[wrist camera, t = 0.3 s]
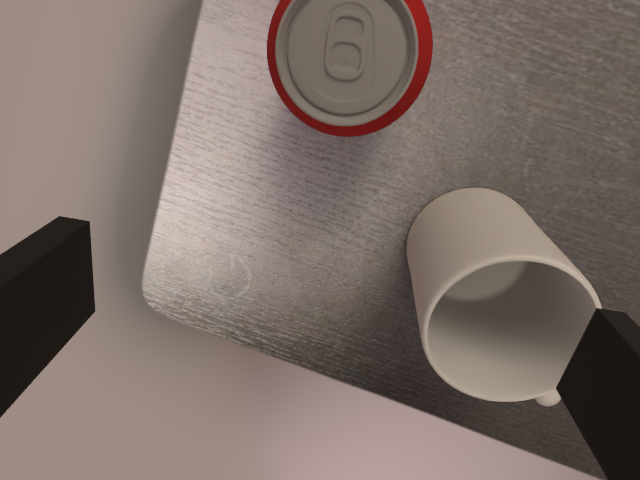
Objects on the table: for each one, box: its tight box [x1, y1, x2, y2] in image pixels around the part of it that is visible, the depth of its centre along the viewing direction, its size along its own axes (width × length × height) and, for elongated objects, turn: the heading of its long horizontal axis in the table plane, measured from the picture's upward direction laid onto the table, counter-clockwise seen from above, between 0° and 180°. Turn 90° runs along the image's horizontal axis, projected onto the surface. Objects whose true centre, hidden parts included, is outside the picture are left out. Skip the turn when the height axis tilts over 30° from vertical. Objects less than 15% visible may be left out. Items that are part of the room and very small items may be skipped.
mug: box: [407, 188, 602, 406], centre depth 27 cm, size 12×8×11 cm
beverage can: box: [267, 0, 433, 137], centre depth 22 cm, size 7×7×12 cm
